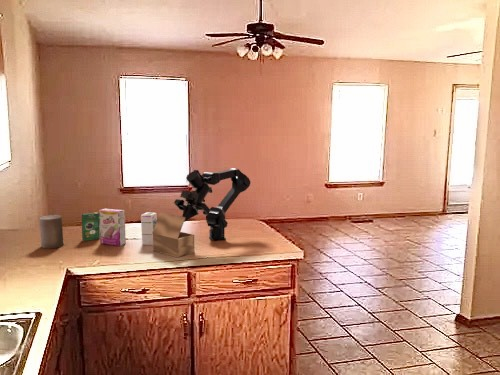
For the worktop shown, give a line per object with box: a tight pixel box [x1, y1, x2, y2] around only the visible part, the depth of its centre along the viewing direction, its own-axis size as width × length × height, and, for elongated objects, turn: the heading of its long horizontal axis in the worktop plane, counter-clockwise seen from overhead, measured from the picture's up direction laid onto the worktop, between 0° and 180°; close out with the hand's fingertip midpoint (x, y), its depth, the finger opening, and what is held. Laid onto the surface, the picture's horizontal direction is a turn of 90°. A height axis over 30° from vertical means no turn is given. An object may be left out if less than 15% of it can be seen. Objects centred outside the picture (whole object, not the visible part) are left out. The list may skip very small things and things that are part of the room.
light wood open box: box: [152, 231, 196, 258], centre depth 219 cm, size 10×16×8 cm, turn 51°
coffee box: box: [81, 211, 100, 242], centre depth 239 cm, size 8×3×13 cm, turn 129°
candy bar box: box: [98, 208, 127, 247], centre depth 230 cm, size 11×5×16 cm, turn 71°
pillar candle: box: [39, 213, 64, 249], centre depth 227 cm, size 10×10×15 cm
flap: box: [152, 211, 186, 239], centre depth 215 cm, size 10×16×1 cm
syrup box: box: [140, 211, 158, 246], centre depth 232 cm, size 6×6×14 cm
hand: (182, 221), depth 222 cm, fingers closed
